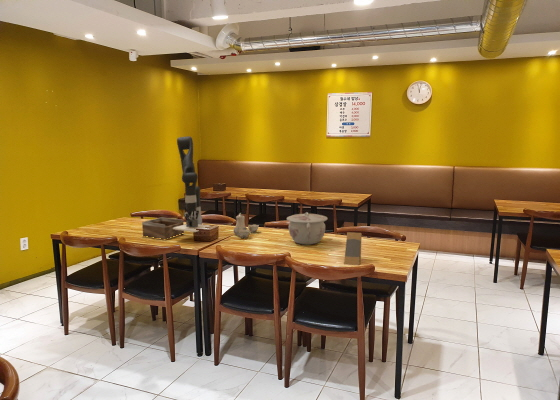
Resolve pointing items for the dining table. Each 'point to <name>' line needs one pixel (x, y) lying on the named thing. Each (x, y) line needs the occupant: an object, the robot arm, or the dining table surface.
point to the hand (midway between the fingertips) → (192, 225)
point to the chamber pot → (307, 228)
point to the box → (162, 227)
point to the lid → (191, 229)
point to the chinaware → (243, 227)
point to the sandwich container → (353, 248)
